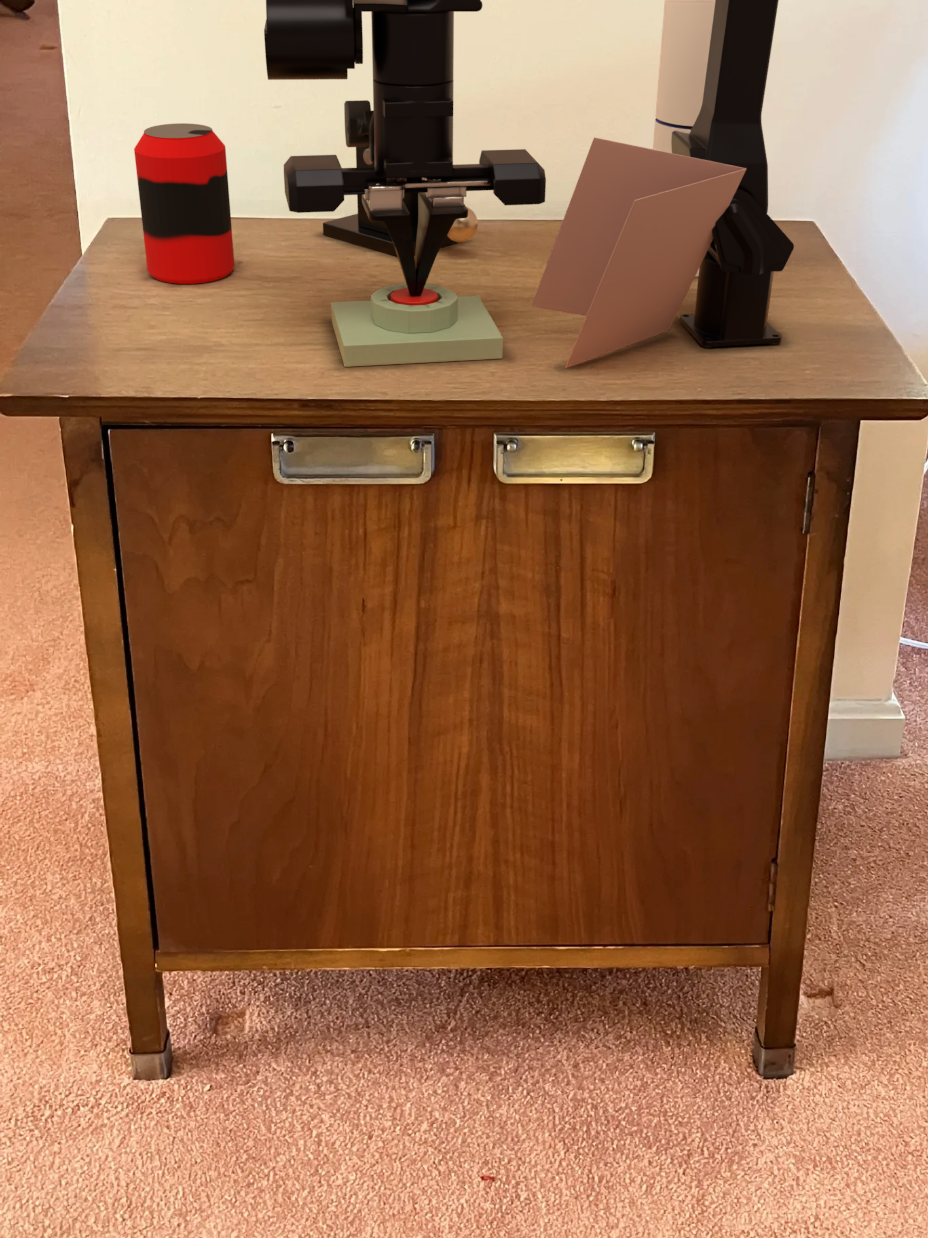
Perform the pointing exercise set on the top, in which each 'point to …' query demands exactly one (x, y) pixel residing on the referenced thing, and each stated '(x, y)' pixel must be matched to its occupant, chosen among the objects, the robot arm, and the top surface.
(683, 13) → the cylindrical container
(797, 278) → the top surface
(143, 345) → the top surface
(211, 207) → the soda can
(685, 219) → the greeting card
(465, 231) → the lever
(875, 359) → the top surface
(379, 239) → the switch bracket
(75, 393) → the top surface
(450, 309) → the button housing
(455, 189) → the robot arm
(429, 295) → the button
